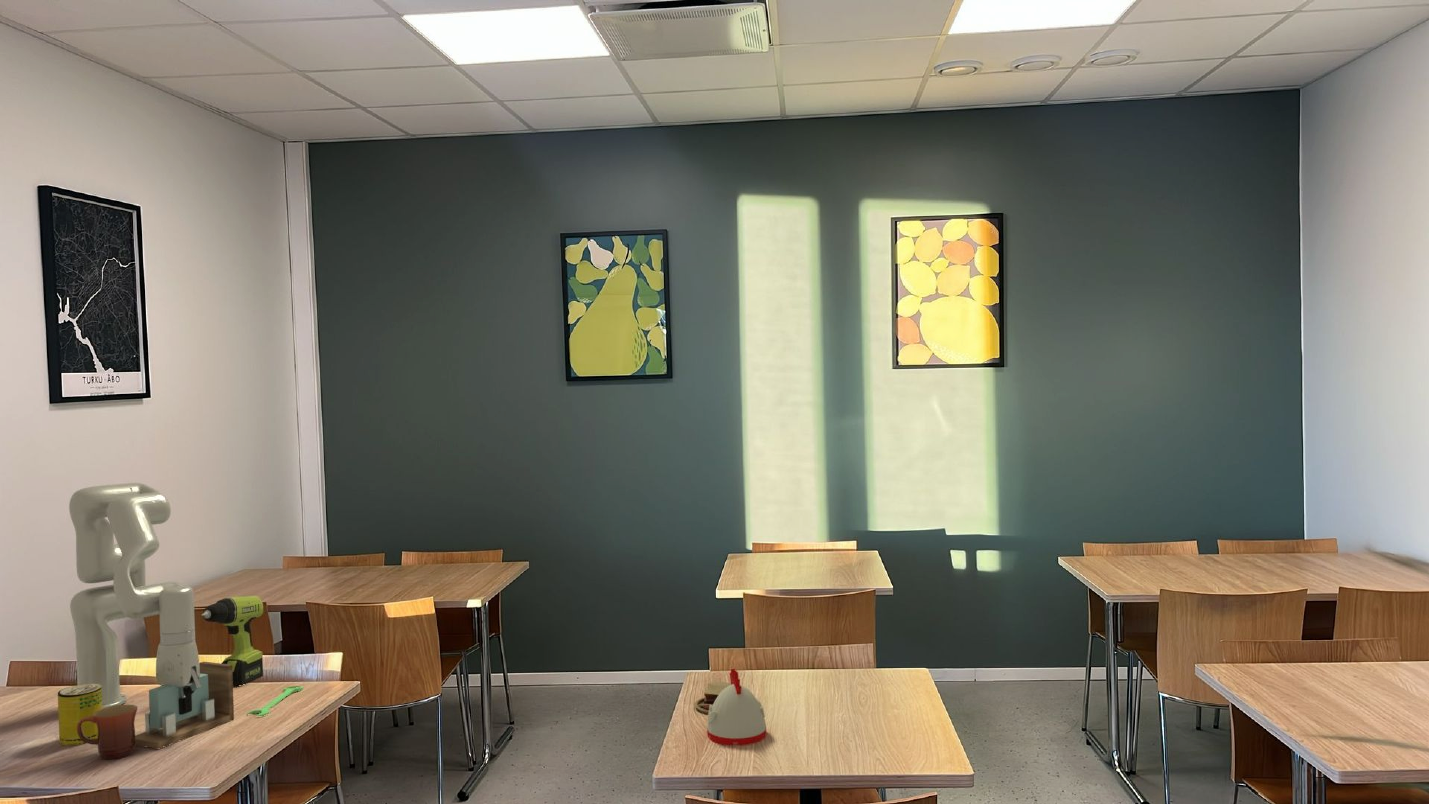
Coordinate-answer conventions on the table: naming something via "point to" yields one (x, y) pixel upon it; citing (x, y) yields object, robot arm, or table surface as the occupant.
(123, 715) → the mug
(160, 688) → the pale teal rectangular block
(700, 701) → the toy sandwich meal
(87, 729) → the yellow food can
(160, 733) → the cabinet base
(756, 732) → the kitchen timer
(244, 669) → the cordless drill
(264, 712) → the wrench
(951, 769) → the table surface
